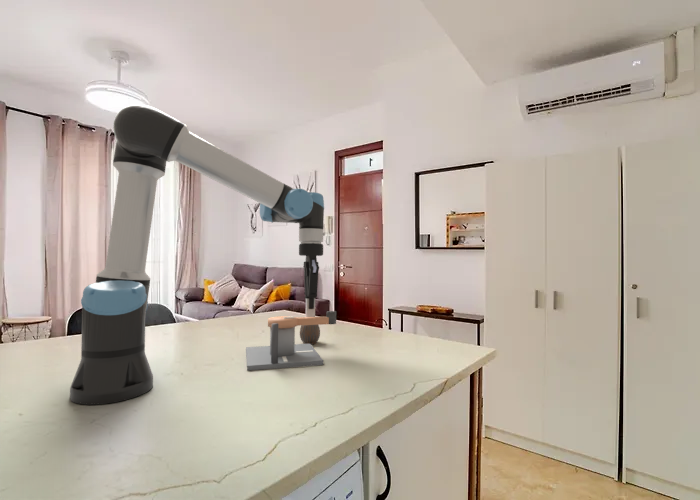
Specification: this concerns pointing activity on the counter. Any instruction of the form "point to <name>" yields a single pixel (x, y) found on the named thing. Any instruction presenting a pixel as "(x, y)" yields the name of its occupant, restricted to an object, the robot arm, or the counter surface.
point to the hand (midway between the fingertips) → (310, 319)
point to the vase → (309, 334)
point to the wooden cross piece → (302, 320)
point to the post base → (293, 361)
